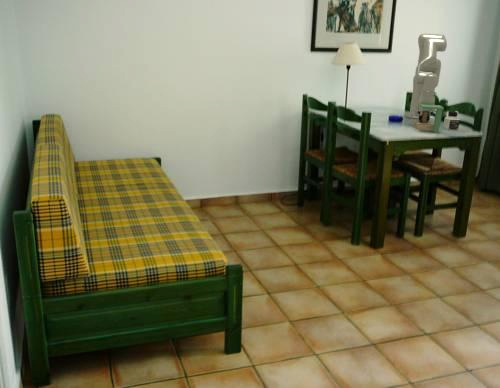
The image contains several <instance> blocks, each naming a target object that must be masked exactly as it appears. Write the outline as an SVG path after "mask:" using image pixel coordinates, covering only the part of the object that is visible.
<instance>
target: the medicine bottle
mask: <svg viewBox="0 0 500 388" xmlns="http://www.w3.org/2000/svg"><path fill="white" fill-rule="evenodd" d="M458 115H459V111H457V110H448V113H447V117H444V121H443V125H442V128H443V129H444V130H445V129H446V130H448V131H458V130H459V127H460V121H461V119H459V118H458Z"/></svg>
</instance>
